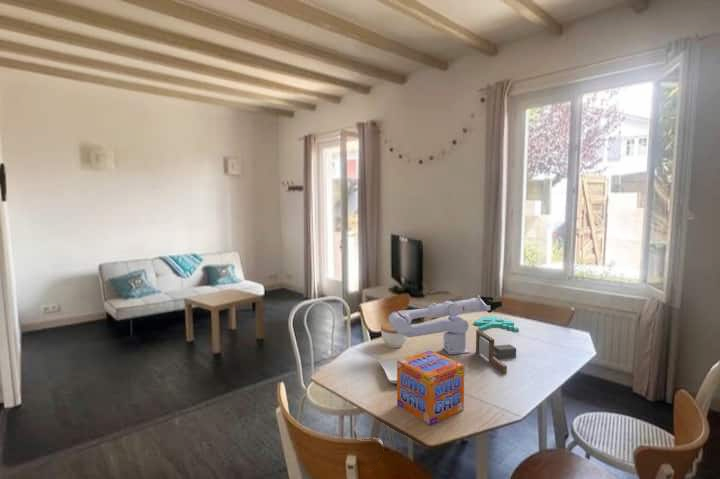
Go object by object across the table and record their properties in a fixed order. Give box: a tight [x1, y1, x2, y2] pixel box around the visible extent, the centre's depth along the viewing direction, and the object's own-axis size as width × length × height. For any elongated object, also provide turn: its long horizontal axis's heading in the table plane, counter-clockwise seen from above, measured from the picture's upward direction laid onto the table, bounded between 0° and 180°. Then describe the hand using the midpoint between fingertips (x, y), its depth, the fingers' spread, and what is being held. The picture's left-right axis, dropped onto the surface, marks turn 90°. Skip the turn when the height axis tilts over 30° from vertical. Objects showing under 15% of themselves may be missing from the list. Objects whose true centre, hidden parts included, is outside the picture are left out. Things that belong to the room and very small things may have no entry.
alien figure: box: [474, 316, 520, 333], centre depth 217 cm, size 20×2×20 cm
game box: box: [396, 350, 465, 426], centre depth 131 cm, size 16×16×16 cm
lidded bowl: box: [380, 322, 408, 349], centre depth 188 cm, size 13×13×11 cm
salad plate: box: [377, 356, 411, 385], centre depth 157 cm, size 21×21×3 cm
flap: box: [479, 337, 489, 360], centre depth 172 cm, size 1×9×7 cm, turn 11°
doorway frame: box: [475, 329, 508, 375], centre depth 167 cm, size 2×23×10 cm, turn 11°
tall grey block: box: [494, 343, 517, 360], centre depth 174 cm, size 10×5×4 cm, turn 101°
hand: (497, 301), depth 182 cm, fingers open, 7 cm apart
